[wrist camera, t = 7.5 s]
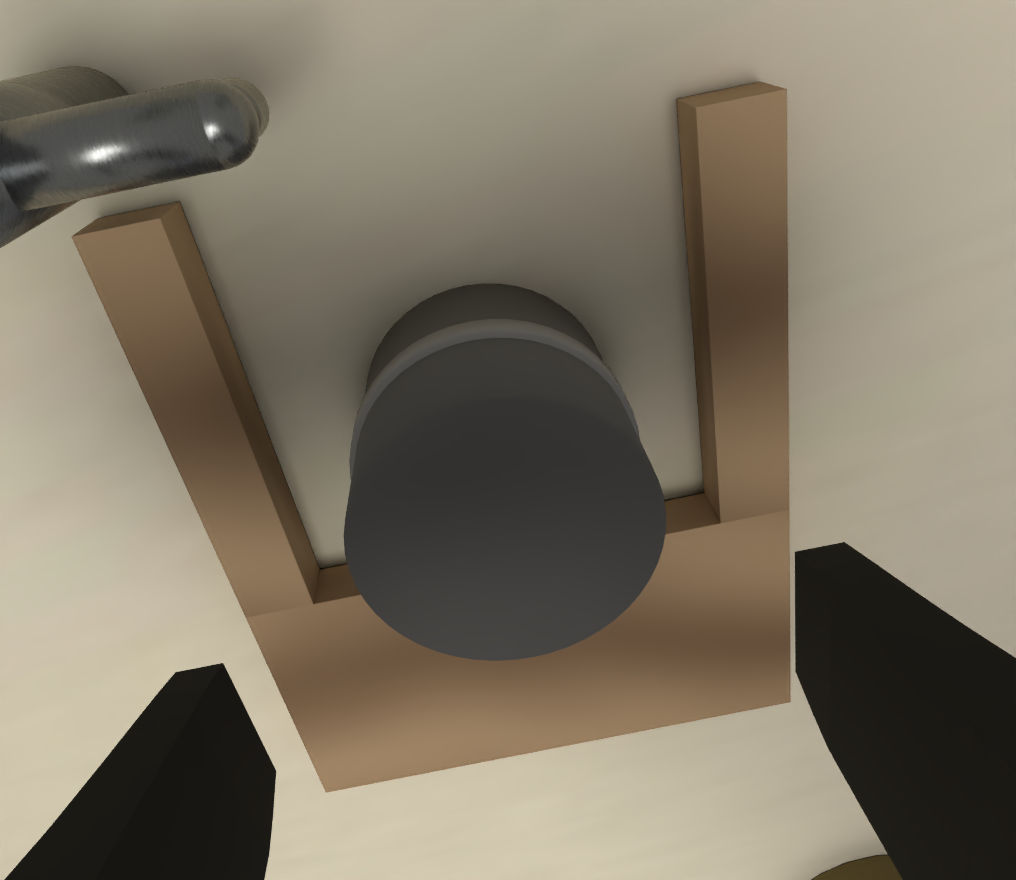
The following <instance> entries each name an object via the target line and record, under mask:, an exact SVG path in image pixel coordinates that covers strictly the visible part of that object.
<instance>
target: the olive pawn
mask: <svg viewBox="0 0 1016 880" xmlns="http://www.w3.org/2000/svg"><path fill="white" fill-rule="evenodd" d="M813 880H902V878H901V876H900V874H899V872H898V871H897V869H896V867H895V865H894V864H893V862H892V860H891V858H890V857H889V855H885V856H873V857H869V858H865V859H861V860H857V861H852V862H848V863H845V864H843V865H841V866H838V867H836V868H834V869H831V870H829V871H827V872H825V873H822V874H820V875H819V876H817V877H816V878H814V879H813Z"/></svg>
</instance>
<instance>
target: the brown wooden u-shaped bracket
mask: <svg viewBox="0 0 1016 880" xmlns="http://www.w3.org/2000/svg"><path fill="white" fill-rule="evenodd" d="M677 114H678V128H679V142H680V156H681V170H682V185H683V199H684V213H685V227H686V242H687V256H688V270H689V284H690V298H691V313H692V327H693V341H694V355H695V370H696V384H697V398H698V412H699V426H700V441H701V455H702V469H703V483H704V493H703V494H698V495H693V496H688V497H683V498H678V499H673V500H667V501H664V503H665V509H666V533H665V539H664V545H663V549H662V552H661V555H660V558H659V562H658V564H657V566H656V568H655V570H654V572H653V574H652V577H651V579H650V580H649V582H648V583H647V585H646V586H645V588H644V589H643V591H642V592H641V594H640V595H639V596H638V597H637V598H636V599H635V601H634V602H633V603H632V604H631V605H630V606H629V608H627V609H626V610H625V611H624V612H623V613H622V614H621V615H620V616H619V617H618V618H616V619H615V620H614V621H613V622H611V623H610V624H609V625H607V626H606V627H604V628H603V629H602V630H600V631H599V632H597V633H595V634H593V635H592V636H590V637H588V638H586V639H585V640H583V641H580V642H578V643H576V644H574V645H571V646H569V647H567V648H564V649H561V650H558V651H555V652H552V653H549V654H544V655H540V656H536V657H531V658H524V659H517V660H502V661H487V660H473V659H467V658H461V657H455V656H451V655H447V654H444V653H440V652H437V651H434V650H431V649H429V648H426V647H424V646H421V645H419V644H417V643H415V642H413V641H411V640H410V639H408V638H406V637H404V636H402V635H401V634H400V633H398V632H397V631H395V630H394V629H392V628H391V627H390V626H388V625H387V624H386V623H385V622H384V621H383V620H382V619H381V618H380V617H378V616H377V615H376V614H375V613H374V611H373V610H372V609H371V608H370V606H369V605H368V604H367V603H366V602H365V600H364V599H363V597H362V596H361V594H360V592H359V591H358V589H357V587H356V586H355V583H354V581H353V578H352V576H351V573H350V571H349V568H348V564H346V565H341V566H336V567H331V568H326V569H321V570H320V569H319V566H318V564H317V561H316V558H315V556H314V553H313V550H312V548H311V545H310V543H309V540H308V537H307V535H306V532H305V529H304V527H303V524H302V522H301V519H300V516H299V514H298V511H297V509H296V506H295V503H294V501H293V498H292V495H291V493H290V490H289V488H288V485H287V482H286V480H285V477H284V474H283V472H282V469H281V467H280V464H279V461H278V459H277V456H276V453H275V451H274V448H273V446H272V443H271V440H270V438H269V435H268V432H267V430H266V427H265V425H264V422H263V419H262V417H261V414H260V411H259V409H258V406H257V404H256V401H255V398H254V396H253V393H252V390H251V388H250V385H249V383H248V380H247V377H246V375H245V372H244V369H243V367H242V364H241V362H240V359H239V356H238V354H237V351H236V348H235V346H234V343H233V341H232V338H231V335H230V333H229V330H228V327H227V325H226V322H225V320H224V317H223V314H222V312H221V309H220V306H219V304H218V301H217V299H216V296H215V293H214V291H213V288H212V285H211V283H210V280H209V278H208V275H207V272H206V270H205V267H204V264H203V262H202V259H201V257H200V254H199V251H198V249H197V246H196V243H195V241H194V238H193V236H192V233H191V230H190V228H189V225H188V222H187V220H186V217H185V215H184V212H183V209H182V207H181V204H180V202H175V203H171V204H166V205H161V206H156V207H151V208H146V209H142V210H137V211H132V212H127V213H122V214H117V215H112V216H108V217H103V218H98V219H96V220H95V221H93V222H92V223H90V224H89V225H88V226H86V227H85V228H83V229H82V230H80V231H79V232H77V233H76V234H74V235H73V236H72V239H73V241H74V243H75V245H76V247H77V250H78V252H79V254H80V256H81V258H82V260H83V263H84V265H85V267H86V269H87V271H88V274H89V276H90V278H91V280H92V282H93V284H94V287H95V289H96V291H97V293H98V295H99V298H100V300H101V302H102V304H103V306H104V309H105V311H106V313H107V315H108V317H109V319H110V322H111V324H112V326H113V328H114V330H115V333H116V335H117V337H118V339H119V341H120V343H121V346H122V348H123V350H124V352H125V354H126V357H127V359H128V361H129V363H130V365H131V368H132V370H133V372H134V374H135V376H136V378H137V381H138V383H139V385H140V387H141V389H142V392H143V394H144V396H145V398H146V400H147V403H148V405H149V407H150V409H151V411H152V413H153V416H154V418H155V420H156V422H157V424H158V427H159V429H160V431H161V433H162V435H163V437H164V440H165V442H166V444H167V446H168V448H169V451H170V453H171V455H172V457H173V459H174V462H175V464H176V466H177V468H178V470H179V472H180V475H181V477H182V479H183V481H184V483H185V486H186V488H187V490H188V492H189V494H190V496H191V499H192V501H193V503H194V505H195V507H196V510H197V512H198V514H199V516H200V518H201V521H202V523H203V525H204V527H205V529H206V531H207V534H208V536H209V538H210V540H211V542H212V545H213V547H214V549H215V551H216V553H217V556H218V558H219V560H220V562H221V564H222V566H223V569H224V571H225V573H226V575H227V577H228V580H229V582H230V584H231V586H232V588H233V590H234V593H235V595H236V597H237V599H238V601H239V604H240V606H241V608H242V610H243V612H244V615H245V617H246V619H247V621H248V623H249V625H250V628H251V630H252V632H253V634H254V636H255V639H256V641H257V643H258V645H259V647H260V649H261V652H262V654H263V656H264V658H265V660H266V663H267V665H268V667H269V669H270V671H271V674H272V676H273V678H274V680H275V682H276V684H277V687H278V689H279V691H280V693H281V695H282V698H283V700H284V702H285V704H286V706H287V709H288V711H289V713H290V715H291V717H292V719H293V722H294V724H295V726H296V728H297V730H298V733H299V735H300V737H301V739H302V741H303V743H304V746H305V748H306V750H307V752H308V754H309V757H310V759H311V761H312V763H313V765H314V768H315V770H316V772H317V774H318V776H319V778H320V781H321V783H322V785H323V787H324V789H325V792H331V791H336V790H341V789H347V788H352V787H357V786H362V785H367V784H372V783H377V782H383V781H388V780H393V779H398V778H403V777H408V776H413V775H418V774H424V773H429V772H434V771H439V770H444V769H449V768H454V767H459V766H465V765H470V764H475V763H480V762H485V761H490V760H495V759H500V758H506V757H511V756H516V755H521V754H526V753H531V752H536V751H542V750H547V749H552V748H557V747H562V746H567V745H572V744H577V743H583V742H588V741H593V740H598V739H603V738H608V737H613V736H618V735H624V734H629V733H634V732H639V731H644V730H649V729H654V728H659V727H665V726H670V725H675V724H680V723H685V722H690V721H695V720H701V719H706V718H711V717H716V716H721V715H726V714H731V713H736V712H742V711H747V710H752V709H757V708H762V707H767V706H772V705H777V704H783V703H788V702H790V552H789V398H788V243H787V89H784V88H781V87H777V86H774V85H770V84H766V83H763V82H757V83H752V84H747V85H742V86H737V87H733V88H728V89H723V90H718V91H713V92H708V93H703V94H699V95H694V96H689V97H684V98H679V99H677Z"/></svg>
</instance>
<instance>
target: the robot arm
mask: <svg viewBox="0 0 1016 880" xmlns="http://www.w3.org/2000/svg"><path fill="white" fill-rule="evenodd" d="M795 653H796V674H797V676H798V678H799V681H800V683H801V686H802V688H803V691H804V693H805V695H806V698H807V700H808V703H809V705H810V708H811V710H812V712H813V715H814V717H815V719H816V722H817V724H818V726H819V728H820V731H821V733H822V735H823V738H824V740H825V742H826V745H827V747H828V749H829V751H830V752H831V754H832V756H833V758H834V760H835V761H836V763H837V765H838V767H839V769H840V770H841V772H842V774H843V776H844V778H845V779H846V781H847V783H848V785H849V786H850V788H851V790H852V792H853V794H854V795H855V797H856V799H857V801H858V802H859V804H860V806H861V808H862V809H863V811H864V813H865V815H866V816H867V818H868V820H869V822H870V823H871V825H872V827H873V829H874V830H875V832H876V834H877V836H878V837H879V839H880V841H881V843H882V844H883V846H884V848H885V850H886V851H887V853H888V855H889V857H890V858H891V860H892V862H893V864H894V865H895V867H896V869H897V871H898V872H899V874H900V876H901V878H902V880H1016V658H1015V657H1013V656H1012V655H1010V654H1008V653H1007V652H1005V651H1004V650H1002V649H1001V648H999V647H998V646H996V645H995V644H993V643H991V642H990V641H988V640H987V639H985V638H984V637H982V636H981V635H979V634H978V633H976V632H974V631H973V630H971V629H970V628H968V627H967V626H965V625H964V624H962V623H961V622H959V621H958V620H956V619H955V618H953V617H952V616H950V615H949V614H947V613H946V612H944V611H943V610H942V609H940V608H939V607H937V606H936V605H934V604H933V603H931V602H930V601H928V600H927V599H926V598H924V597H923V596H921V595H920V594H918V593H917V592H915V591H914V590H912V589H911V588H910V587H908V586H907V585H905V584H904V583H902V582H901V581H900V580H898V579H897V578H895V577H894V576H892V575H891V574H889V573H888V572H887V571H885V570H884V569H882V568H881V567H879V566H878V565H877V564H875V563H874V562H872V561H871V560H869V559H868V558H866V557H865V556H864V555H862V554H861V553H859V552H858V551H856V550H855V549H853V548H852V547H851V546H849V545H848V544H846V543H845V542H843V543H838V544H833V545H828V546H823V547H817V548H812V549H807V550H802V551H797V552H795ZM275 779H276V770H275V768H274V766H273V764H272V762H271V760H270V758H269V756H268V754H267V752H266V749H265V747H264V745H263V743H262V741H261V739H260V737H259V735H258V733H257V731H256V729H255V727H254V725H253V723H252V721H251V719H250V717H249V715H248V713H247V711H246V709H245V707H244V705H243V703H242V701H241V699H240V697H239V695H238V692H237V690H236V688H235V686H234V684H233V682H232V680H231V678H230V676H229V674H228V672H227V670H226V668H225V666H224V664H223V663H221V664H216V665H211V666H206V667H201V668H196V669H190V670H185V671H180V672H176V673H175V674H174V675H173V676H172V677H171V678H170V680H169V681H168V682H167V683H166V684H165V685H164V687H163V688H162V689H161V690H160V691H159V693H158V694H157V695H156V696H155V698H154V699H153V700H152V701H151V703H150V704H149V705H148V706H147V707H146V709H145V710H144V711H143V712H142V714H141V715H140V716H139V717H138V719H137V720H136V721H135V723H134V724H133V725H132V726H131V728H130V729H129V730H128V731H127V733H126V734H125V735H124V736H123V738H122V739H121V740H120V741H119V743H118V744H117V745H116V746H115V748H114V749H113V750H112V751H111V753H110V754H109V755H108V757H107V758H106V759H105V760H104V762H103V763H102V764H101V765H100V767H99V768H98V769H97V770H96V771H95V773H94V774H93V775H92V776H91V778H90V779H89V780H88V781H87V783H86V784H85V785H84V786H83V787H82V789H81V790H80V791H79V792H78V794H77V795H76V796H75V797H74V798H73V800H72V801H71V802H70V803H69V805H68V806H67V807H66V808H65V810H64V811H63V812H62V813H61V814H60V816H59V817H58V818H57V819H56V821H55V822H54V823H53V824H52V826H51V827H50V828H49V829H48V830H47V831H46V833H45V834H44V835H43V836H42V837H41V838H40V840H39V841H38V842H37V843H36V844H35V845H34V846H33V848H32V849H31V850H30V851H29V852H28V853H27V854H26V856H25V857H24V858H23V859H22V860H21V861H20V862H19V864H18V865H17V866H16V867H15V868H14V869H13V871H12V872H11V873H10V874H9V875H8V876H7V877H6V879H5V880H264V878H265V872H266V867H267V862H268V857H269V850H270V840H271V830H272V820H273V807H274V793H275Z"/></svg>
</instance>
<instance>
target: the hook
mask: <svg viewBox="0 0 1016 880" xmlns="http://www.w3.org/2000/svg"><path fill="white" fill-rule="evenodd" d="M268 122H269V109H268V105H267V102H266V100H265V98H264V96H263V95H262V93H261V92H260V91H259V89H257V88H256V87H255V86H254V85H253V84H251V83H249V82H248V81H245V80H242V79H238V78H229V79H225V80H222V81H220V80H212V79H207V80H198V81H193V82H189V83H184V84H179V85H174V86H169V87H165V88H160V89H155V90H150V91H145V92H141V93H136V94H131V95H129V94H128V93H127V92H126V91H125V90H124V89H123V88H122V87H121V86H120V85H119V84H118V83H117V82H115V81H114V80H113V79H111V78H110V77H108V76H106V75H104V74H103V73H101V72H98V71H96V70H93V69H89V68H85V67H64V68H60V69H55V70H50V71H45V72H41V73H36V74H31V75H27V76H22V77H17V78H12V79H8V80H3V81H0V248H1V247H3V246H5V245H6V244H8V243H10V242H11V241H13V240H15V239H16V238H18V237H20V236H21V235H23V234H25V233H26V232H28V231H30V230H31V229H33V228H35V227H36V226H38V225H40V224H41V223H43V222H45V221H46V220H48V219H50V218H51V217H53V216H55V215H56V214H58V213H60V212H61V211H63V210H65V209H66V208H68V207H70V206H71V205H73V204H75V203H76V202H78V201H80V200H81V199H86V198H91V197H95V196H100V195H105V194H110V193H115V192H120V191H124V190H129V189H134V188H139V187H144V186H149V185H153V184H158V183H163V182H168V181H173V180H178V179H182V178H187V177H192V176H197V175H202V174H207V173H211V172H216V171H221V170H226V169H230V168H233V167H236V166H238V165H240V164H242V163H243V162H245V161H246V160H247V159H248V158H249V157H250V156H251V154H252V153H253V151H254V150H255V148H256V146H257V143H258V139H259V137H260V136H261V135H262V134H263V133H264V131H265V130H266V128H267V125H268Z"/></svg>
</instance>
